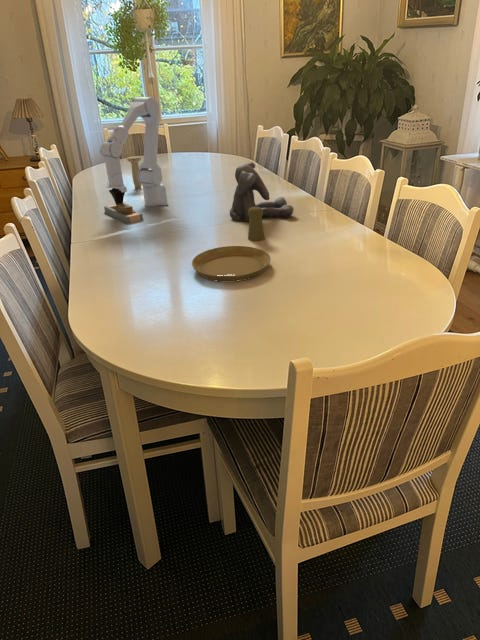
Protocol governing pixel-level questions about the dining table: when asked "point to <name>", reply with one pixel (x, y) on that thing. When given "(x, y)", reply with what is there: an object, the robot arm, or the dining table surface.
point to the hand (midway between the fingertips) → (119, 206)
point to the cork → (255, 224)
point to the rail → (113, 212)
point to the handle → (135, 170)
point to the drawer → (125, 208)
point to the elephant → (245, 196)
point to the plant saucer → (231, 263)
